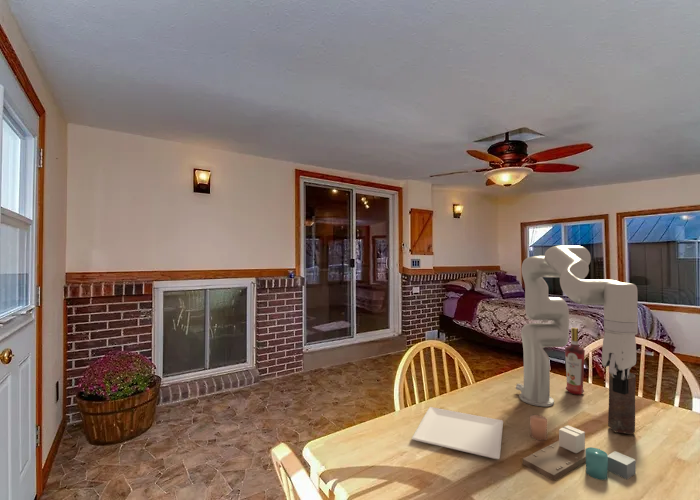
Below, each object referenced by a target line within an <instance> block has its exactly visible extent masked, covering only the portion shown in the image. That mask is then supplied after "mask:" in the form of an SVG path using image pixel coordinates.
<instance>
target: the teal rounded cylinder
mask: <svg viewBox="0 0 700 500" xmlns="http://www.w3.org/2000/svg"><path fill="white" fill-rule="evenodd" d="M585 449H586V462H585V473H586V474H587V475H588V476H589V477H591V478H592V479H595V480H600V481H606V480H608V477H609V475H608V474H609V473H608V472H609V471H608V455H609V454H608V453H607V452H606V451H604V450H603V449H600V448H598V447H585Z"/></svg>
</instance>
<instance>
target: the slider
mask: <svg viewBox="0 0 700 500" xmlns="http://www.w3.org/2000/svg"><path fill="white" fill-rule="evenodd" d="M558 441H559V446H561V447H563V448H565V449H567V450H570V451H572V452H574V453H578V452H580V451H582V450H583V449H586V432H585V431H583V430H580V429H579V428H576V427H573V426H571V425H569V424H568V425H564V426H562V427H561V428H559V429H558Z"/></svg>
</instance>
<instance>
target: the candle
mask: <svg viewBox="0 0 700 500" xmlns="http://www.w3.org/2000/svg"><path fill="white" fill-rule="evenodd" d="M608 376H609V378H608V379H609V380H608V381H609V382H608V413H607V426H608V427H609V428H610V429H611V430H612V431H613V432H615V433H620V434H626V435H627V434H629V435H631V434H635V432H636V380H637V379H636V374H634V373H633V372H632V373H631V372H629V378H628V383H629V393H628V394H625V395H624V394H621V393H617V392H614V391H613V377H612V374H610V373H609V375H608Z"/></svg>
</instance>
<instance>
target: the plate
mask: <svg viewBox="0 0 700 500" xmlns="http://www.w3.org/2000/svg"><path fill="white" fill-rule="evenodd" d="M503 426H504V420H502V419H498V418H492V417H488V416H487V417H486V416H481V415H475V414H470V413H465V412H460V411H455V410H449V409H444V408H438V407H433V406H429V407H428V409H427V410H426V412H425V414H424V416H423V417H422V419H421V421H420V423H419V425H418V426H417V427H416V430H415V431H414V434H413V435H412V436H411V440H413V441H416V442H419V443H425V444H429V445H432V446H437V447H442V448H447V449H451V450H454V451H460V452H464V453H469V454H472V455H477V456H480V457H481V456H482V457H484V458H490V459H494V460H500V459H501V458H500V457H501V448H502V437H503Z"/></svg>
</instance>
